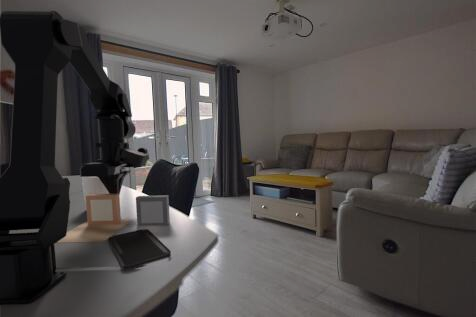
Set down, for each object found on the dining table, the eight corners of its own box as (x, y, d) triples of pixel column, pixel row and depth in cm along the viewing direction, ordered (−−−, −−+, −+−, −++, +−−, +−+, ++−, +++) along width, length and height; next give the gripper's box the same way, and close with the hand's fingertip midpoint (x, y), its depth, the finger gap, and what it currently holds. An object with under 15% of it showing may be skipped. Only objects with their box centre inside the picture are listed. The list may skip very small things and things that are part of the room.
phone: (147, 228, 54) (172, 252, 42) (147, 233, 54) (172, 259, 42) (106, 237, 49) (122, 268, 37) (106, 242, 49) (122, 275, 37)
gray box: (167, 226, 57) (166, 196, 56) (137, 227, 57) (135, 197, 56) (169, 224, 58) (168, 195, 58) (140, 225, 58) (138, 195, 58)
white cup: (120, 206, 76) (118, 173, 75) (103, 213, 68) (101, 177, 67) (96, 206, 77) (94, 174, 76) (77, 213, 69) (74, 178, 68)
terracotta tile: (117, 224, 58) (115, 195, 57) (87, 225, 58) (85, 195, 57) (121, 222, 59) (119, 193, 59) (91, 223, 59) (89, 194, 59)
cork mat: (103, 243, 48) (103, 241, 48) (47, 244, 48) (47, 242, 48) (132, 221, 61) (132, 219, 61) (87, 222, 61) (87, 220, 61)
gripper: (127, 137, 54) (131, 208, 55) (155, 138, 72) (158, 191, 73) (75, 139, 54) (81, 209, 55) (117, 139, 72) (121, 191, 73)
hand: (115, 199), depth 64 cm, fingers closed
